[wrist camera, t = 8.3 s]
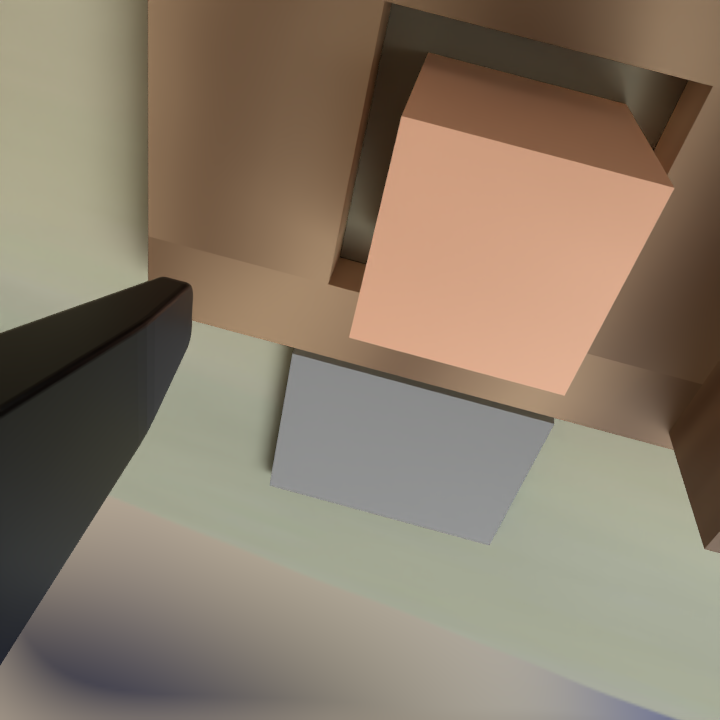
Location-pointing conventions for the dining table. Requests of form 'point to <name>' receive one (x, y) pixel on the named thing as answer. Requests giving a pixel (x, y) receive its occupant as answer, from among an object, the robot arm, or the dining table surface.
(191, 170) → the walnut board
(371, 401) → the grey pad
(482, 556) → the dining table surface
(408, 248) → the terracotta block
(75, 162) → the dining table surface
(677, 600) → the dining table surface
